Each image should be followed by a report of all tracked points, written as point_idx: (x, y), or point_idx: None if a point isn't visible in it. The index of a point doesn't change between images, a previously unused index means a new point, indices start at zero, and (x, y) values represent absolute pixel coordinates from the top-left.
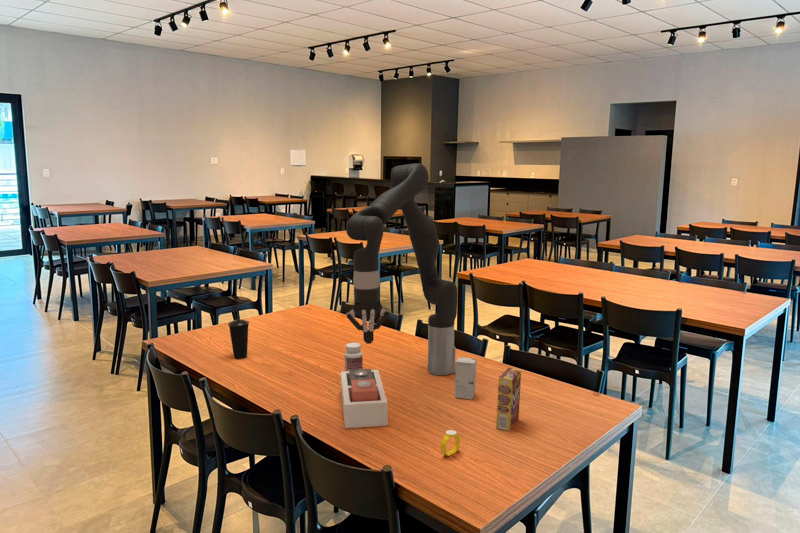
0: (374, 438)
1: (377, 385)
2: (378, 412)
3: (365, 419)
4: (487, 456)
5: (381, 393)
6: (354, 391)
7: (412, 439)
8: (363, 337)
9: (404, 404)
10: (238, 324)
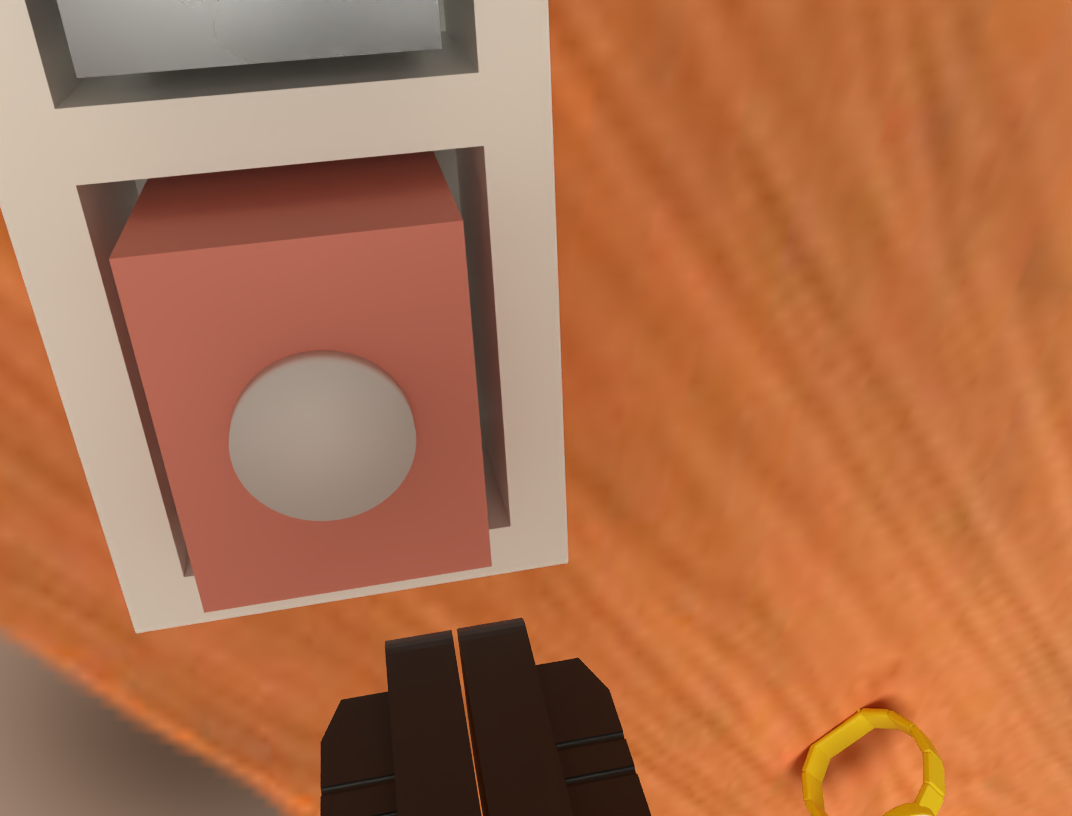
0: (417, 615)
1: (486, 122)
2: None
3: None
4: (1008, 738)
5: (524, 367)
6: (221, 597)
7: (671, 612)
8: (323, 794)
9: (730, 9)
10: None
